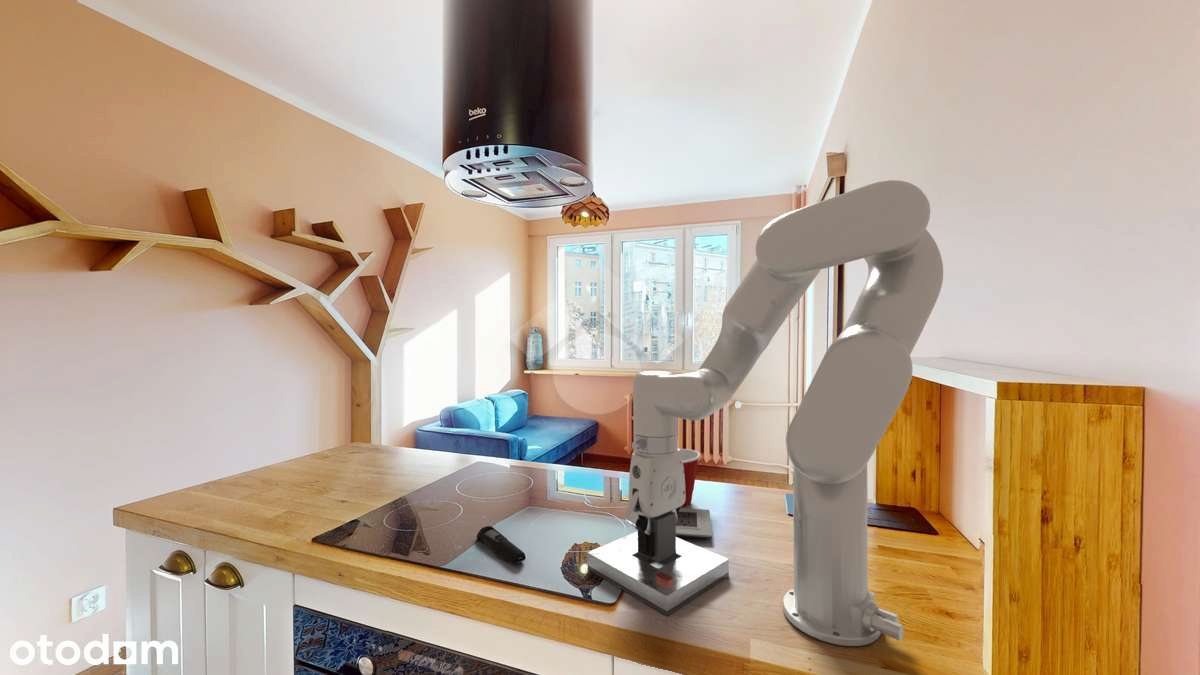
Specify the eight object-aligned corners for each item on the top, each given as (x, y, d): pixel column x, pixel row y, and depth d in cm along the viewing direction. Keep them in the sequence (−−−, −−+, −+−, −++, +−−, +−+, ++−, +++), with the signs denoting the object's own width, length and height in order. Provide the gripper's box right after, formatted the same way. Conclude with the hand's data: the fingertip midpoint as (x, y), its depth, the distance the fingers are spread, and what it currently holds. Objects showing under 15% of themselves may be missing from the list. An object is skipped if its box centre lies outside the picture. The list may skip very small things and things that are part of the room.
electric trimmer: (511, 573, 80) (511, 555, 80) (474, 541, 92) (474, 525, 92) (530, 566, 82) (530, 548, 82) (492, 536, 94) (491, 520, 94)
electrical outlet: (712, 546, 89) (712, 534, 89) (658, 542, 91) (658, 530, 91) (709, 519, 102) (709, 508, 102) (662, 516, 104) (661, 505, 104)
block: (675, 553, 78) (675, 512, 78) (658, 562, 75) (657, 520, 75) (655, 544, 82) (655, 505, 82) (637, 552, 79) (637, 512, 78)
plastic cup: (651, 495, 115) (650, 448, 115) (692, 493, 116) (692, 446, 116) (661, 512, 104) (660, 460, 104) (707, 510, 106) (706, 458, 106)
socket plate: (728, 576, 77) (728, 555, 77) (666, 616, 66) (666, 592, 66) (649, 540, 90) (649, 522, 90) (587, 569, 80) (587, 548, 80)
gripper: (637, 457, 70) (638, 575, 70) (703, 438, 81) (704, 541, 81) (604, 448, 75) (605, 557, 76) (670, 432, 87) (671, 527, 87)
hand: (656, 547), depth 78 cm, fingers closed on block, 4 cm apart
